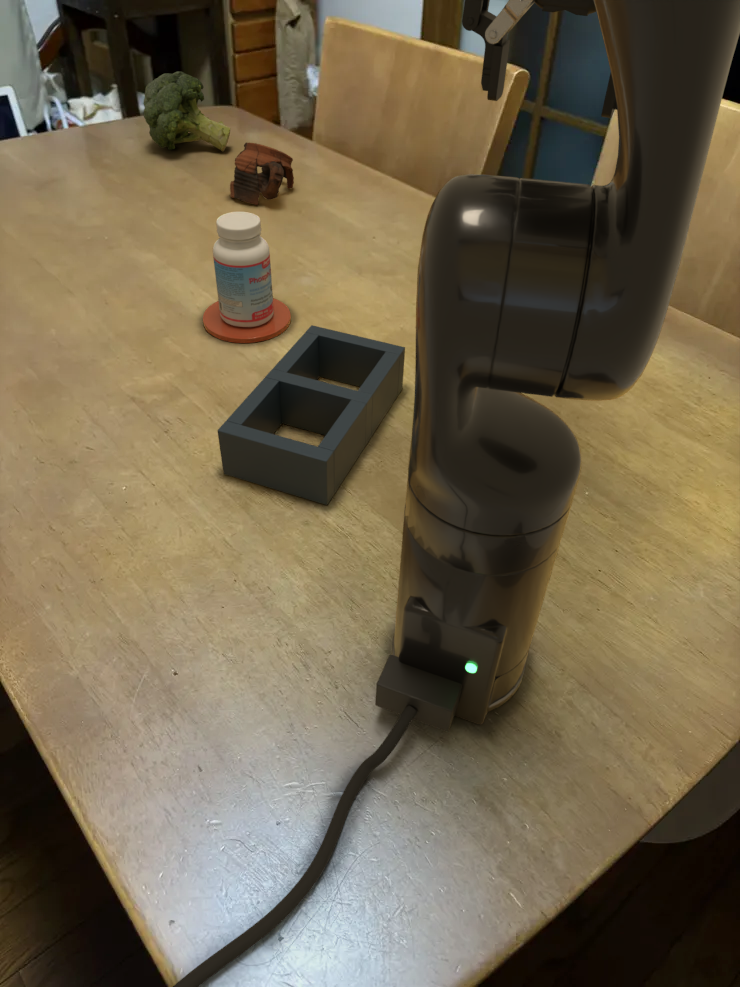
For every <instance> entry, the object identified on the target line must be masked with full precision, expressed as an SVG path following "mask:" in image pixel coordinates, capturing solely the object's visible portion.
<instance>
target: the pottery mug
mask: <svg viewBox="0 0 740 987" xmlns="http://www.w3.org/2000/svg"><path fill="white" fill-rule="evenodd" d="M243 147H244V148H243V150H242V151H240V152H239V153H238V154H237V155H236V157H235V158H234V166H235V167H234V172H233V173H234V174H233V180H231V181H230V183H229V191H230V192H229V197H230V198H233V199H238V200H239V201H241V202H244V203H247V204H251V205H255V206H259V200H260V197H261V195H262V197H263V198H264V199H266V200H267V201H271V200H274V199H275V200H276V198H278V195H279V192H280V188H281V186H282V184H283V180H284V179H286V187H287V189H288V190H290V189H293V188H294V184H295V178H294V172H293V171H294V169H293V167H292V163H293V161H294V159H293V157H292V156H290V155H288V154H287V153H285V152H283V151H281V150H278V149H277V148H274V147H271V146H268V145H264V144H261V143H256V142H245V143H244V144H243ZM258 168H261V172H258Z"/></svg>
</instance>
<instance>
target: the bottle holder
mask: <svg viewBox="0 0 740 987" xmlns="http://www.w3.org/2000/svg"><path fill="white" fill-rule="evenodd" d="M405 355H406V347H405V346H402V345H397V344H393V343H389V342H385V341H380V340H376V339H372V338H368V337H364V336H359V335H355V334H351V333H346V332H342V331H338V330H334V329H330V328H325V327H322V326H317V325H313V324H311V325H310V326H309V328H307V329H306V331H305V332H304V333H303V334H302V336H301V337H300V338H299V339H298V340H297V341H296V342H295V343H294V344H293V345H292V346H291V347H290V349H289V350H288V351H287V352H286V353H285V354H284V355H283V356H282V357H281V359H279V361H278V362H277V363H276V364H275V365H274V367H272V368H271V370H270V371H269V372H267V374H266V375H265V376H264V378H263V379H262V380H261V381H260V382H259V383H258V384H257V386H256V387H254V389H253V390H252V391H251V392H250V393H249V394H248V395H247V397H246V398H245V399H243V401H242V402H241V403H240V404H239V406H238V407H237V408H236V409H235V410H234V411H233V412H232V413H231V414H230V416H229V417H228V418H227V419H226V420H225V421H224V422H223V424H221V425H220V427H219V428H218V429H217V436H218V438H217V439H218V446H219V453H220V460H221V465H222V473H223V475H226V476H230V477H233V478H235V479H240V480H242V481H246V482H248V483H249V482H250V483H252V484H256V485H260V486H262V487H266V488H269V489H272V490H276V491H278V492H282V493H286V494H289V495H292V496H296V497H299V498H302V499H305V500H309V501H312V502H315V503H318V504H321V505H325V506H328V505H329V503H330V501H331V500H332V498H333V497H334V495H335V494H336V492H337V491H338V489H339V488H340V486H341V484H342V483H343V482H344V481H345V479H346V477H347V475H348V474H349V472H350V470H352V468H353V467H354V464H355V463H356V462H357V460H358V458H359V457H360V455H361V454H362V452H363V450H364V449H365V447H366V446H367V444H368V443H369V442H370V440H371V438H372V437H373V435H374V433H375V432H376V431H377V429H378V427H379V425H380V424H381V423H382V421H383V420H384V418H385V416H386V415H387V413H388V412H389V410H390V409H391V407H392V406H393V405H394V403H395V401H396V400H397V398H398V396H399V395H400V394H401V392H402V390H403V387H404V386H403V385H404V384H403V383H404V372H405V371H404V370H405V368H404V367H405ZM319 378H324V379H328V380H331V381H335V382H339V383H343V384H347V385H350V386H355V387H357V388H358V390H356V389H352V388H348V387H344V386H340V385H337V384H333V383H329V382H326V381H321V380H318V379H319ZM282 424H283V425H287V426H290V427H294V428H298V429H301V430H305V431H309V432H311V433H315V434H319V435H323V436H324V437H323V438H322V440H321V441H320V443H319V444H318V445H313V444H310V443H306V442H302V441H299V440H296V439H293V438H289V437H284V436H281V435H277V434H275V433H276V431H277V430H278V429H279V428H280V426H281V425H282Z"/></svg>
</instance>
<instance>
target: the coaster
mask: <svg viewBox="0 0 740 987" xmlns="http://www.w3.org/2000/svg"><path fill="white" fill-rule="evenodd" d="M273 309H274V312H273V316H272V318H271V319H270V320H269V321H268V322H266V323H264V324H262V325H260V326H256V327H238V326H233V325H230V324H228V323H226V322H225V321H224V320H223V319H222V318H221V315H220V310H219V301H218V300H217V301H215V302H213V303H212V304H210V305H209V306H208V307H207V308H206V309H205V310H204V312H203V315H202V323H203V327H204V329H205V330H206V331H207V333H208V334H210V335H211V336H212V337H214V338H215V339H219V340H222V341H224V342H229V343H236V344H253V343H260V342H264V341H268V340H271V339H274V338H276V337H278V336H279V335H281V334H283V333H284V332H285V331H286V330H287V329H288V328H289V326H290V325H291V321H292V316H291V315H292V314H291V310H290V308H289V307H288V306H287V305H286V304H285V303H284V302H282V301H281V300H279V299H277V298H274V297H273Z"/></svg>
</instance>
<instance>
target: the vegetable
mask: <svg viewBox="0 0 740 987" xmlns="http://www.w3.org/2000/svg"><path fill="white" fill-rule="evenodd" d="M203 89H204V85H203V83H202V81H201V80H200V79H199V78H197V77H194V76H192V75H190V74H188V73H185V72H184V71H178V70H177V71H175V72H173V73H169V72H168V73H163V74H161V75H159V76H158V77H157V78H154V80H152V81H151V82H148V84H146V86H145V90H144V99H143V106H144V109H143V118H144V120H145V123H146V124H147V125H148V127H149V132H148V133H149V137H150V138H151V140H152V141H153V142H154V143H155V144H157V146H158V147H159V148H167V150H169V151H170V150H175V149H176V146H175V145H176V144H182V143H190V142H196V141H204V142H206V143H209V144H211V145H212V146H213V147H214V148H216V149H218V150H220V151H221V152H224V151H225V150H226V147H227V146H228V142H229V139H230V136H231V127H229V126H227V125H225V124H224V122H223V121H222V120H221V121H218V122H217V121H215V120H212V119H210V118H209V117H208V116H206V115H205V114H204V113H202V111H201V110H200V108H199V107H198V102H199V101H200V103H202V102H203V101H205V95H204V93H203V92H202V90H203Z"/></svg>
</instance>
